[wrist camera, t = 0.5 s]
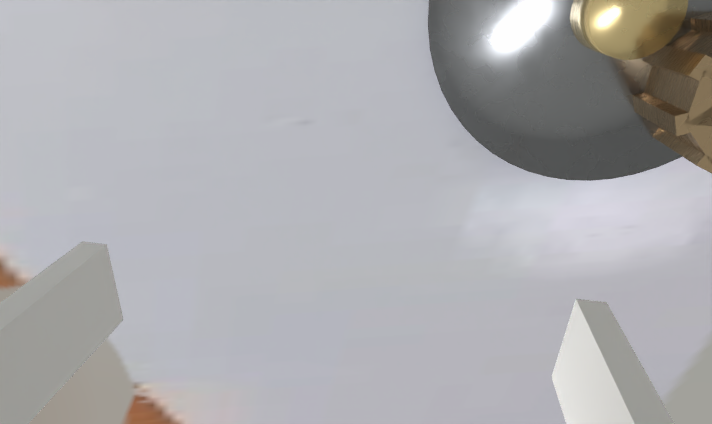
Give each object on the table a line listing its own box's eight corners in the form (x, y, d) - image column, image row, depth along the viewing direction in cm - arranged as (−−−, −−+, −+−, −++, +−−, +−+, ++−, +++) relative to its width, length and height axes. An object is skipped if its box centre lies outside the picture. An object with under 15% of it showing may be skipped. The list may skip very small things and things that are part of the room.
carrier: (451, -218, 27) (459, -286, 20) (891, -215, 25) (1064, -292, 18) (412, 159, 37) (409, 196, 30) (723, 187, 35) (794, 233, 28)
